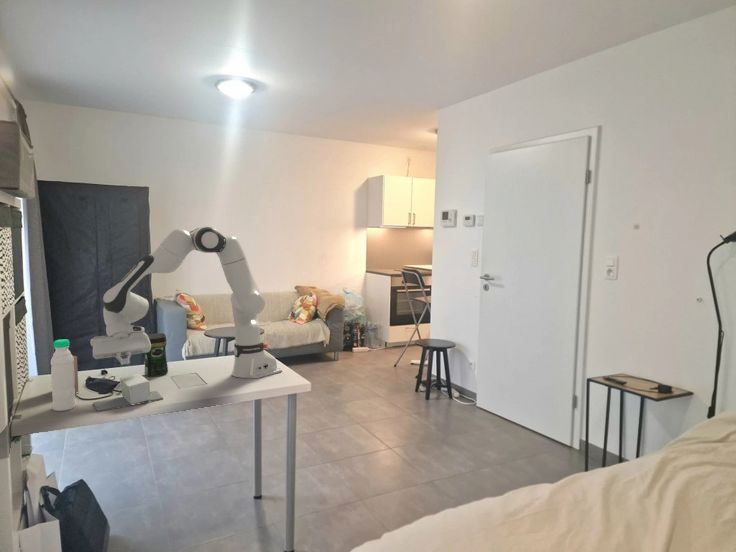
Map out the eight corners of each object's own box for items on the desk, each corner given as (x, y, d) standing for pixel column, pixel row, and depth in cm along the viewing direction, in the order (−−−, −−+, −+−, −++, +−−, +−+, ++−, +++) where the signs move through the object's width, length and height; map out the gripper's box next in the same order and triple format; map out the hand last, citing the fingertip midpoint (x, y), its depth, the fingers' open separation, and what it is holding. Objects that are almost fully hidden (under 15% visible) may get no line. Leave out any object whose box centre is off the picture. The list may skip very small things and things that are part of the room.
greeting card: (52, 391, 187) (50, 354, 186) (73, 387, 192) (72, 351, 191) (57, 398, 179) (55, 360, 177) (79, 394, 184) (78, 357, 182)
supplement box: (121, 396, 181) (130, 405, 171) (119, 377, 180) (127, 386, 170) (142, 391, 185) (151, 399, 176) (140, 373, 184) (149, 380, 175)
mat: (156, 392, 187) (156, 390, 187) (163, 399, 179) (163, 397, 179) (93, 403, 174) (93, 402, 174) (97, 411, 166) (97, 410, 166)
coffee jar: (165, 370, 217) (164, 331, 216) (169, 374, 211) (168, 334, 209) (142, 373, 212) (141, 333, 210) (146, 378, 205) (144, 336, 204)
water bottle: (47, 411, 166) (44, 341, 164) (63, 404, 173) (60, 337, 171) (65, 412, 165) (62, 342, 163) (80, 405, 172) (77, 338, 170)
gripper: (90, 332, 177) (94, 363, 171) (148, 326, 190) (154, 355, 183) (88, 342, 181) (93, 372, 174) (145, 335, 194) (152, 364, 187)
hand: (125, 363), depth 179 cm, fingers closed
